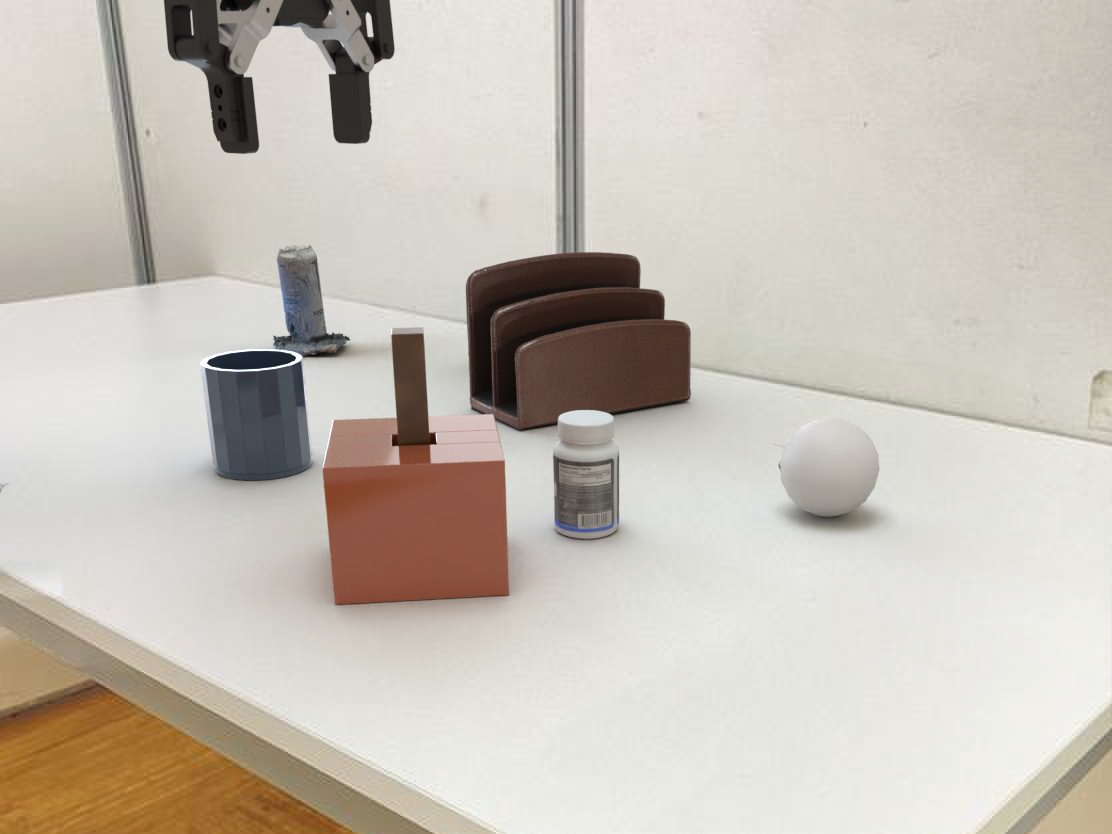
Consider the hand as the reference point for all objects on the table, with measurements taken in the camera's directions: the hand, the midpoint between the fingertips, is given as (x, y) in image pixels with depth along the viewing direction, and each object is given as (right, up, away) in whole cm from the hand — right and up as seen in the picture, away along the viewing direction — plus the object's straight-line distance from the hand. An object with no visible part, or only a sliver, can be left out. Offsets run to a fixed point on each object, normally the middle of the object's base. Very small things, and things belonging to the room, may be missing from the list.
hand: (298, 147), depth 69 cm
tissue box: (+5, -23, +15) cm, 28 cm away
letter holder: (+15, -6, +55) cm, 57 cm away
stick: (+5, -23, +15) cm, 28 cm away
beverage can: (-17, +4, +77) cm, 79 cm away
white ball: (+33, -18, +26) cm, 46 cm away
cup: (-12, -14, +36) cm, 41 cm away
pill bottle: (+16, -20, +22) cm, 34 cm away
